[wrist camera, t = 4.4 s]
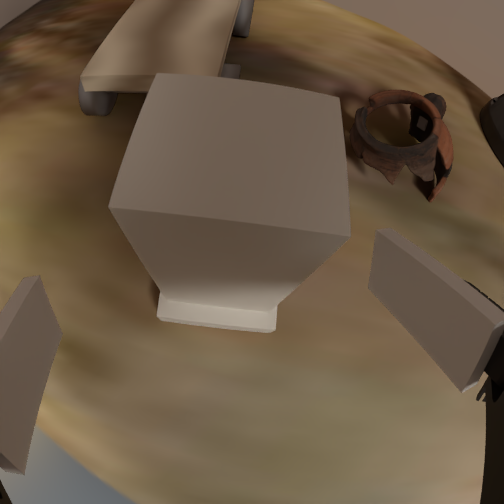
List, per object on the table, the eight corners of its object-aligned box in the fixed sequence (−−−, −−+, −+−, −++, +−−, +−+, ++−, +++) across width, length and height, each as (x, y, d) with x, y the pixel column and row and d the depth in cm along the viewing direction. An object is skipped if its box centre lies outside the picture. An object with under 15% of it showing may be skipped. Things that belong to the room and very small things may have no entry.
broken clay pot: (427, 234, 25) (434, 182, 19) (340, 192, 31) (320, 136, 24) (467, 142, 26) (475, 82, 20) (390, 112, 32) (381, 54, 25)
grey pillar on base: (276, 233, 23) (350, 82, 10) (269, 332, 21) (369, 277, 8) (177, 220, 22) (151, 55, 9) (161, 320, 20) (80, 243, 7)
